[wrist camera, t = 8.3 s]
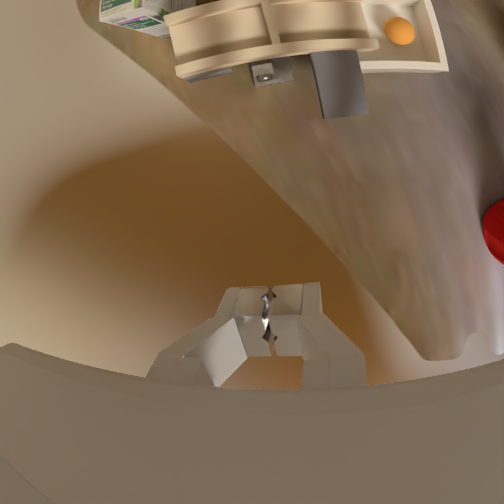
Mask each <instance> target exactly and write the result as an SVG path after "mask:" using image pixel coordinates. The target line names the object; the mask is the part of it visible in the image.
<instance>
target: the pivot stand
mask: <svg viewBox="0 0 504 504" xmlns="http://www.w3.org/2000/svg"><path fill="white" fill-rule="evenodd" d="M250 66H251V70H252V74H253V78H254V83H255V87H262V86H267V85H272V84H278V83H283V82H289V81H294V77H293V73H292V68H291V64H290V60H289V56H286V57H278V58H271V59H265V60H259V61H253V62H250Z"/></svg>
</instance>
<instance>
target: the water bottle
mask: <svg viewBox="0 0 504 504" xmlns="http://www.w3.org/2000/svg"><path fill="white" fill-rule="evenodd" d="M483 232H484V236H485V242H486V244H487V247H488V249H489V251H490V252H491V254H492V255H493V256H494V257H495V258H496V259H497V260H498V261H499V262H500V263H502V264H504V198H503V199H502V200H501V201H500V202H498V203H496V204H494V205H492V206H491V207H490V209H489V210H488V211H487V212H486V214H485V216H484V218H483Z"/></svg>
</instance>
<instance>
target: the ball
mask: <svg viewBox="0 0 504 504" xmlns="http://www.w3.org/2000/svg"><path fill="white" fill-rule="evenodd" d="M384 32H385V34H386V36H387V37H388V39H389V40H390V41H392V42H393V43H395V44H398V45H407V44H409V43H411V42H412V41H413V40H414V37H415V30H414V28H413V26H412V24H411V23H410V22H409V21H407V20H406V19H404V18H401V17H391V18H389V19H388V20H387V21H386V22H385V24H384Z"/></svg>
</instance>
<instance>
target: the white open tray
mask: <svg viewBox="0 0 504 504" xmlns="http://www.w3.org/2000/svg"><path fill="white" fill-rule="evenodd" d="M360 3H361V7H362V10H363V13H364V16H365V20H366V23H367V27H368V30H369V34H370V38H371V39H377V40H378V44H379V48H377V49H375V50H372V51H357V54H358V58H359V62H360V67H361V72H362V73H374V72H418V73H439V72H446V71H449V69H448V64H447V59H446V54H445V50H444V45H443V41H442V37H441V34H440V30H439V26H438V23H437V19H436V16H435V13H434V10H433V7H432V4H431V1H430V0H363V1H361V2H360ZM391 17H401V18H404V19H406V20H407V21H409V22H410V23H411V24H412V26H413V28H414V30H415V37H414V40H413V41H412V42H411V43H409V44H407V45H398V44H395V43H393V42H392V41H390V40H389V39H388V37H387V36H386V34H385V32H384V24H385V22H386V21H387V20H388V19H389V18H391Z"/></svg>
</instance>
